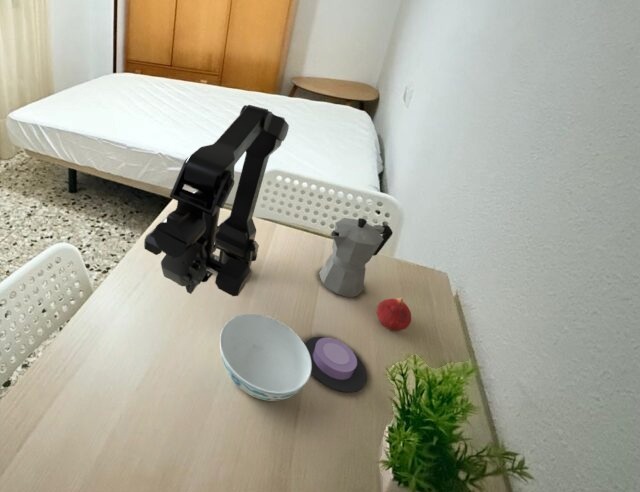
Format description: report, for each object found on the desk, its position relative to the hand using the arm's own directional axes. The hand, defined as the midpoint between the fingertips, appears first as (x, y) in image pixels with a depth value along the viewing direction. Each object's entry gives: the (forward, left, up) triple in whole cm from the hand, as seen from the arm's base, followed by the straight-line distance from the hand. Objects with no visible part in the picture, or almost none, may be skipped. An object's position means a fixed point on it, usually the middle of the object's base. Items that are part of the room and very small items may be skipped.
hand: (190, 291), depth 75 cm
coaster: (+25, +12, -11) cm, 30 cm away
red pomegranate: (+32, +28, -11) cm, 44 cm away
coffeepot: (+22, +36, -11) cm, 44 cm away
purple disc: (+25, +12, -11) cm, 30 cm away
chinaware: (+15, 0, -11) cm, 19 cm away
